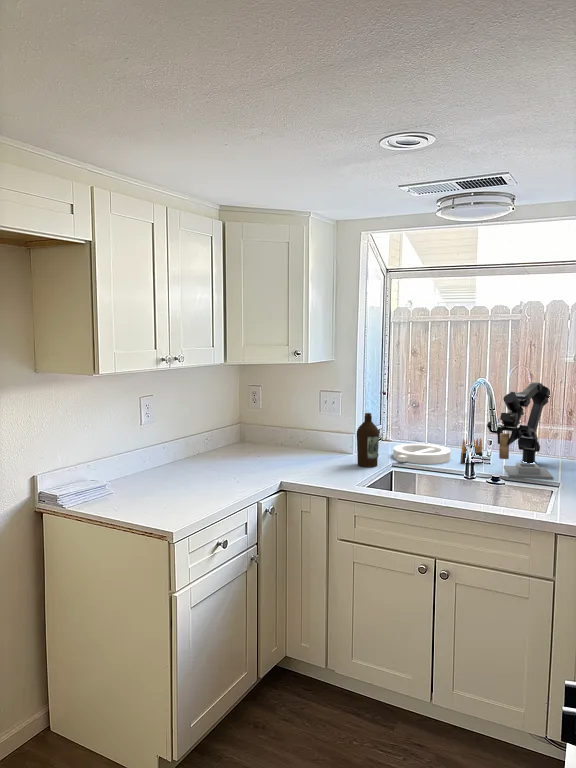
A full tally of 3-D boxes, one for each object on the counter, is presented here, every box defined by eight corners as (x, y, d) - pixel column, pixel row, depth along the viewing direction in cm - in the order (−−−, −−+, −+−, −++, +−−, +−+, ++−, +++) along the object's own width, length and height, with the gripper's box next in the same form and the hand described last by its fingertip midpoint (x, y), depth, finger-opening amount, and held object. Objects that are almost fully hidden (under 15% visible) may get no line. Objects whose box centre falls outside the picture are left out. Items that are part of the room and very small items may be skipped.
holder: (503, 467, 279) (504, 460, 279) (544, 469, 275) (545, 462, 275) (509, 476, 261) (509, 469, 261) (553, 479, 257) (553, 471, 257)
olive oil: (351, 464, 285) (352, 412, 282) (368, 461, 291) (369, 411, 288) (366, 468, 276) (367, 415, 274) (383, 466, 282) (384, 413, 279)
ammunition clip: (462, 463, 287) (462, 439, 286) (460, 462, 289) (461, 438, 288) (482, 462, 289) (483, 438, 288) (480, 461, 291) (481, 437, 290)
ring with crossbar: (443, 452, 313) (443, 443, 313) (456, 465, 286) (456, 455, 285) (389, 452, 314) (389, 443, 314) (397, 464, 286) (398, 454, 286)
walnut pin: (498, 457, 269) (498, 433, 268) (507, 457, 269) (508, 433, 268) (500, 459, 265) (501, 434, 264) (509, 459, 265) (510, 434, 264)
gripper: (489, 403, 274) (477, 430, 267) (530, 407, 261) (519, 436, 254) (496, 418, 280) (485, 445, 274) (536, 423, 268) (525, 451, 261)
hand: (503, 444), depth 265 cm, fingers closed on walnut pin, 4 cm apart
